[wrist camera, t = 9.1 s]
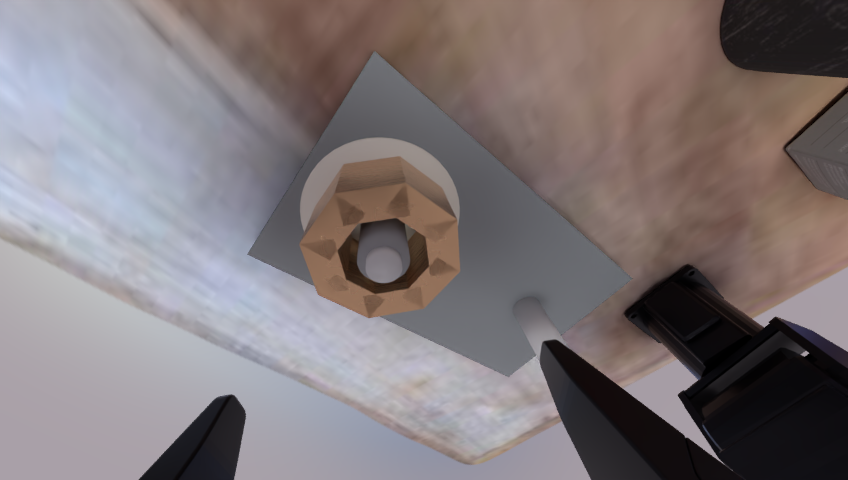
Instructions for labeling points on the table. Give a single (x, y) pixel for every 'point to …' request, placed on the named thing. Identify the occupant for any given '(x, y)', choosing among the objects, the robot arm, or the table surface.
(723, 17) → the travel mug
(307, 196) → the board
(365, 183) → the wooden ring
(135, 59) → the table surface
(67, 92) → the table surface
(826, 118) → the skincare box
